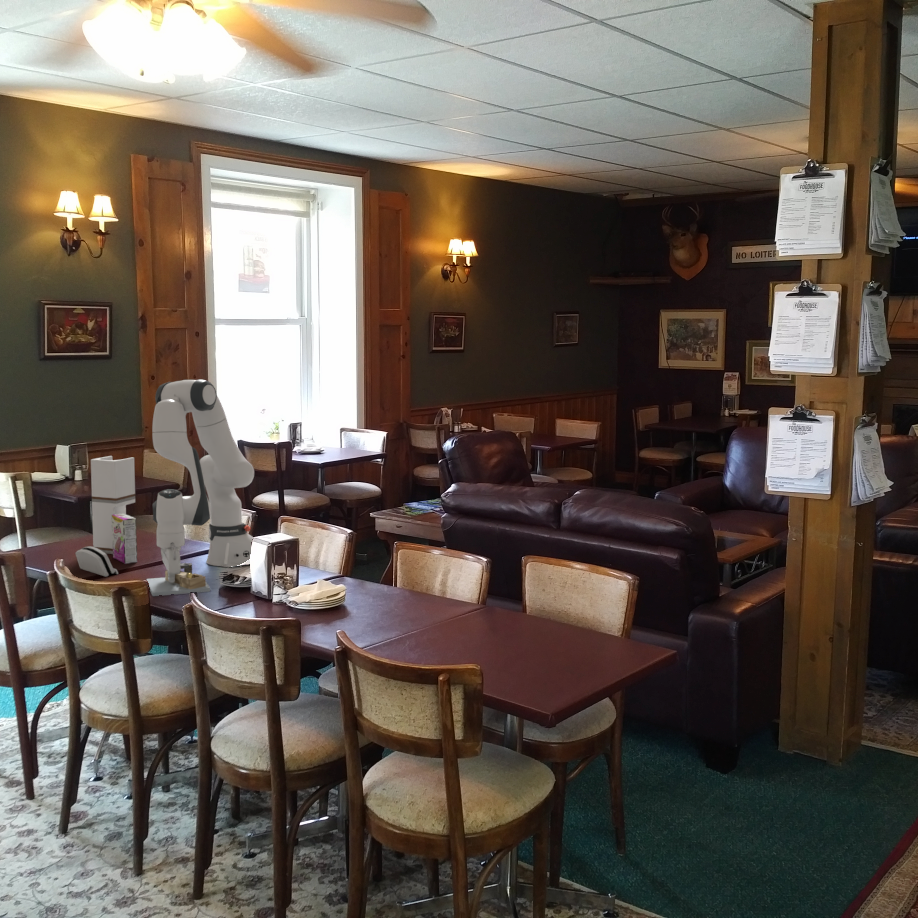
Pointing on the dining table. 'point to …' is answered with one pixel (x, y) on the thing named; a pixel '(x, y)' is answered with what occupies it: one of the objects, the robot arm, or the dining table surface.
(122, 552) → the candy bar box
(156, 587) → the board
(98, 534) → the banded white column
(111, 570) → the white black-striped rounded block
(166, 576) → the link
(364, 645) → the dining table surface
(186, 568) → the pintle keeper
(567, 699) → the dining table surface
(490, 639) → the dining table surface
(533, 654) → the dining table surface
